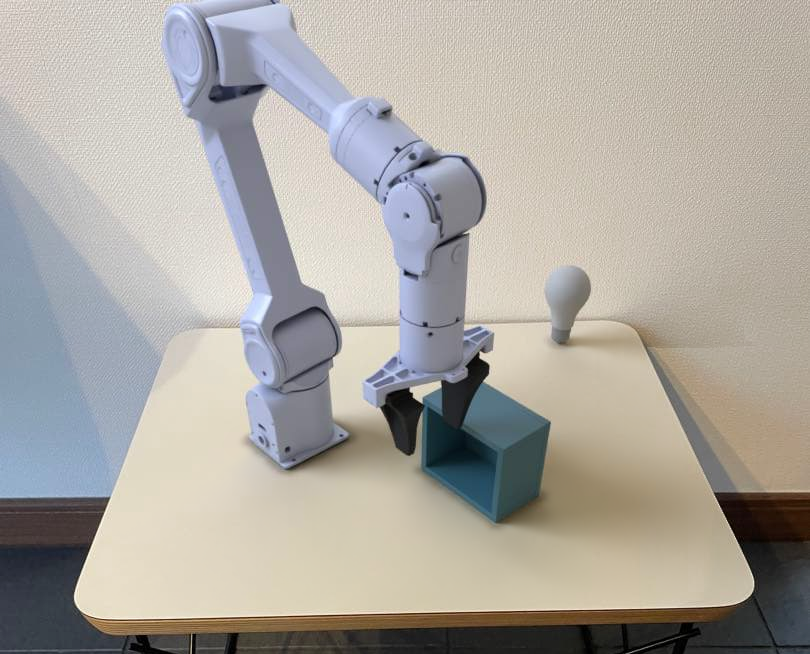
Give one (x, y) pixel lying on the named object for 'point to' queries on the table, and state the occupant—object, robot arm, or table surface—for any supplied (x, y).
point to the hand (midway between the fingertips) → (429, 436)
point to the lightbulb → (566, 298)
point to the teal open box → (486, 451)
